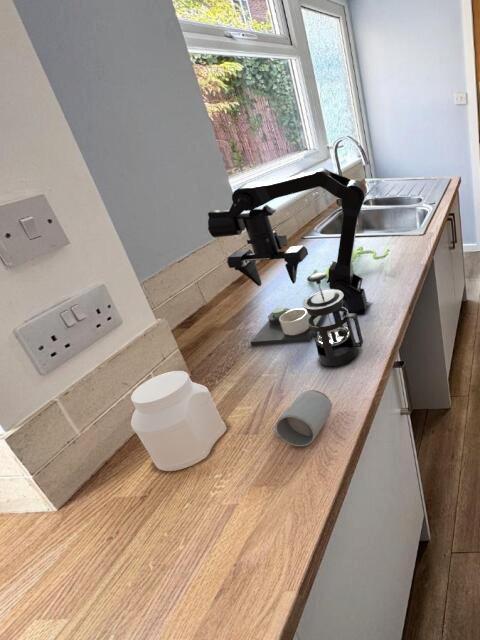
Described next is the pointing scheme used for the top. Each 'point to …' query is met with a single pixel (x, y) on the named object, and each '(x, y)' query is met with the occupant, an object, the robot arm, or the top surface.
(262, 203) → the robot arm
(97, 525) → the top surface
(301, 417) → the ceramic mug
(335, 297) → the french press
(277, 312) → the button
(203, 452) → the jar
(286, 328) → the cup
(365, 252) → the figurine
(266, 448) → the top surface
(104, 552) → the top surface
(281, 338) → the scale
